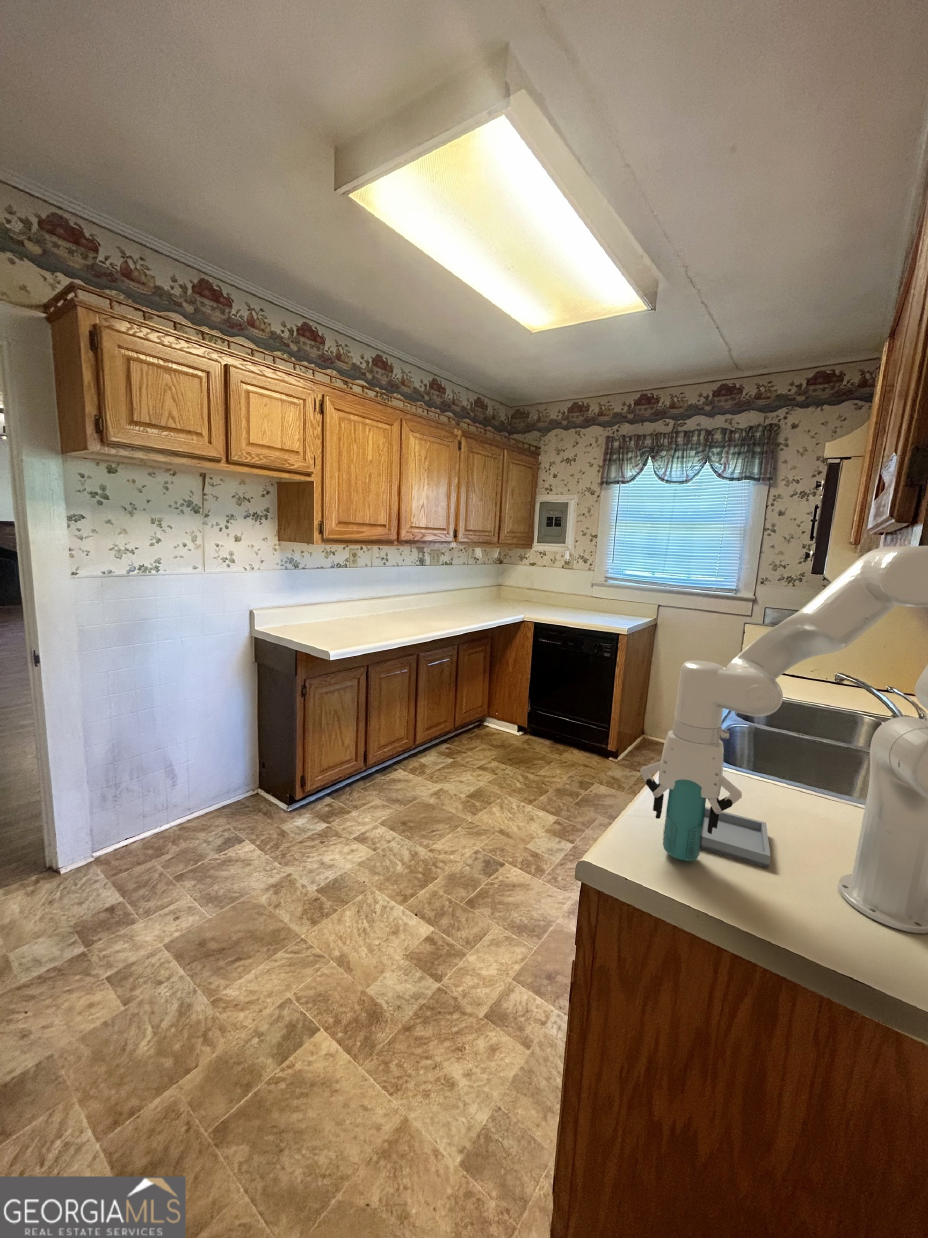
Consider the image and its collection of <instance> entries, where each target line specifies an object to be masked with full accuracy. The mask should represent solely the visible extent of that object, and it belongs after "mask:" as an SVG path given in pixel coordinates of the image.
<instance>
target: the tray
mask: <svg viewBox="0 0 928 1238" xmlns="http://www.w3.org/2000/svg"><path fill="white" fill-rule="evenodd" d="M705 808H706V809H705V814H704V816H705V818H704V821H705V823H704V822H703V825H704V826H703V827H704V830H702V835H703V838H702V839H701V842H702V846H701V847H700V849H701V850H705V851H708V852H711V853H715V854H718V855H721V856H725V857H728V858H730V859H734V860H738V861H741V862H745V863H747V864H751V865H755V866H758V867H762V868H764V869H768V870H769V869H770V862H771V858H772V857H771V848H770V843H769V835H768V834H769V833H768V828H767V822H765V821H762V820H757V819H754V818H750V817H746V816H743V815H739V814H736V813H735V814H734V813H732V812H731V813H730V812H727V811H725V810H724V811H722V812H721V813H720V814H719V818H718V825H717V829H716V828H713V829H712V834H709V832H707V830H708V821H709V814H710V807H708V806H705Z"/></svg>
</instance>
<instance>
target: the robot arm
mask: <svg viewBox="0 0 928 1238" xmlns="http://www.w3.org/2000/svg"><path fill="white" fill-rule="evenodd" d="M899 606H900V607H907V608H928V545H911V546H910V545H908V546H907V545H905V546H904V545H903V546H902V545H900V546H884V547H878V548H876V549H875V548H874V549H873V550H870V551H868V552H867V553H865V554H863V555H862V556H860V558H858V559H857V560H855V562H853V563H852V564H851V565H850V566H848V568H846V569H845V570H844V571H843V572H842V573H840V574H839V575H838V576H837V577H836V578H835V579H834V580H833V581H832V582H830V583H829V584H828V585H827V586H826V587H825V588H824V589H822V590H821V591H820V592H819V593H818V594H817V595H816V596H815V597H813V598H812V599H811V600H810V601H809V602H808V603H807V604H806V605H804V606H803V607H802V608H800V609H799V610H798V611H797V612H796V613H794V614H793V615H791V616H789V617H787V618H786V619H784V620H783V621H781V622H780V623H778V624H777V625H775V626H774V627H772V628H771V629H769V630H767V631H766V632H763V634H761V635H760V636H758V638H756V639H755V640H754V641H752V642H751V643H749V645H747V647H745V648H744V649H743V650H742V651H741V652H740V653H739V654H737V656H735V657H734V658H732V660H731V661H730V662H729V663H728V664H727V665H726V666H725V667H724V666H723V665H721V664H718V663H716V662H712V661H707V660H697V659H696V660H695V659H694V660H692V659H691V660H687V661H685V662H684V663H682V665H681V666H680V668H679V678H678V682H677V683H678V684H677V685H678V686H677V691H676V692H677V693H676V700H675V708H674V716H673V717H674V718H673V725H672V729H671V730H669V731H667V735H666V738H665V741H664V744H663V749H662V754H661V759H660V760H659V761H657V762H653V763H651V764H648V765H645V766H642V767H641V768H640V770H639V773H640V775H641V777H642V778H643V780H644V781H645V785H646V786H647V788H648V789H649V790H650V791H651V793H652V796H653V797H654V798H653V806H652V811H653V812H655V813H656V814H655V819H656V820H657V819H658V820H659V819H661V816H662V813H663V805H664V797H665V796H664V795H665V792H666V791H667V790H669V789H671V790H673V789H674V786H675V781H676V780H683V779H684V780H690V781H693V782H695V783H697V784H698V785H700V786H701V787H702V789H701V797H703V798H706V800H707V801H708V803H709V805H710V807H709V808H710V814H709V821H708V830H707V832H709V834H712V829H713V828H716V829H717V825H718V818H719V814H720V813H721V812H722V811H724V812H725V811H726V810H728V809H729V808H732V807H733V805H734V804H735V803H738V801H740V799H742V797H743V792H742V791H741V790H740V789H739V788H738V787H736V786H735V785H734V784H733V783H732V782H731V781H730V780H729V779H727V778H726V777H725V776H724V775H723V773H724V761H725V760H724V757H725V753H724V752H725V751H724V742H723V741H722V739H727V740H728V739H729V738H730V730H727V729H725V728H723V727H722V721H723V714H724V710H729V711H732V712H735V713H738V714H743V715H747V716H751V717H765V716H769V715H771V714H774V713H775V712H777V710H779V708H780V707H781V706H782V703H783V700H784V694H783V693H784V692H783V690H782V687H781V685H780V683H779V682H778V680H777V679H778V678H780V677H781V676H782V675H783V674H784V673H785V672H787V671H788V670H790V669H791V668H793V667H794V666H796V665H798V664H799V663H802V662H804V661H805V660H807V659H810V658H814V657H817V656H824V655H827V654H828V655H829V654H831V653H832V654H833V653H835V652H839V651H841V650H844V649H846V648H848V647H849V646H850V645H852V644H853V643H854V642H855V641H856V640H857V639H859V638H860V637H861V636H863V635H864V634H865V633H866V632H867V631H868V630H869V629H871V628H872V627H873V626H875V625H876V624H877V623H878V622H879V621H881V619H883V618H884V617H885V616H887V615H888V614H890V613H891V612H892V611H893V610H894V609H895V608H897V607H899ZM915 683H916V684H915V688H914V693H915V694H914V695H915V697H916V700H917V701H918V703H919V704H920V705H921V706H922V707H923V708H924V709H925V710H927V711H928V663H927V664H926V666H925V668H924V669H923V671H922V672H921V674H920V676H919V678H918V680H917V681H916V682H915ZM656 772H658V783H657V782H656V780H655V778H653V777H652V774H653V773H656ZM868 781H869V783H868V789H867V793H866V794H867V796H866V801H865V805H864V810H863V815H862V821H861V826H860V831H859V836H858V841H857V847H856V848H857V849H856V853H855V858H854V863H853V869H852V873H850V874H844V875H842V876H841V877H840V879H839V880H838V884H837V889H838V892H839V893H840V895H841V896H842V897H843V899H844V900H845V901H846V902H847V903H848V904H849V905H850V906H852V907H853V908H854V909H856V910H857V911H859V912H860V913H861V914H864V916H866V917H868V918H870V919H872V920H874V921H876V922H878V923H881V924H882V925H885V926H887V927H891V928H894V929H896V930H900V931H903V932H908V933H914V934H928V720H926V719H922V718H918V717H913V716H898V717H894V718H890V719H889V720H886V721H885V722H883V723H882V724H880V725H879V726H878V728H877V729H876V730H875V731H874V733H873V735H872V738H871V741H870V748H869V780H868ZM722 788H723V789H724V790H725V791H727V793H729V794H728V796H725V797H723V798H721V799H720V798H719V797H720V793H721V789H722Z"/></svg>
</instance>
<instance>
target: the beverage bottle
mask: <svg viewBox="0 0 928 1238" xmlns="http://www.w3.org/2000/svg"><path fill="white" fill-rule="evenodd" d="M701 789H702V787H701V786H700V785H698V784H697V783H695V782H693V781H690V780H684V779H683V780H676V781H675V786H674V789H673V790H671V789H668V797H667V803H666V808H665V819H664V823H663V826H664V827H663V838H662V842H661V843H662V846H663V849H664V851H665V852H666V853H667V854H668V855H670V856H671V857H673V858H676V859H677V860H682V861H687V862H689V861H690V862H691V861H695V860H697V859H698V858H699V856H700V854H701V851H702V849H701V848H700V847H701V846H702V842H701V839H702V838H703V835H702V830H704V827H703V826H704V825H703V822H704V823H705V821H704V818H705V816H704V814H705V809H706V808H705V807H706V802H707V799H706V798H703V797H701Z"/></svg>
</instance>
